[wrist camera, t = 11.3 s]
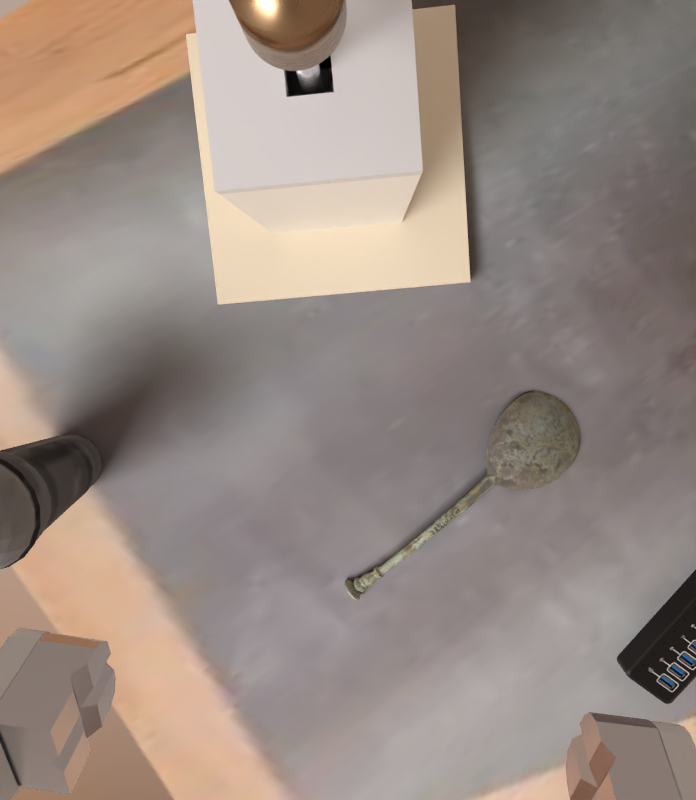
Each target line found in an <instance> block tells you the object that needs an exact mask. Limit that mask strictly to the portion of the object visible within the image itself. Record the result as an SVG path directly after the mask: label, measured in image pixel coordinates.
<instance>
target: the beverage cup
mask: <svg viewBox="0 0 696 800" xmlns="http://www.w3.org/2000/svg"><path fill="white" fill-rule="evenodd" d="M101 469H102V460H101V457H100V454H99V451H98V450H97V449H96V447H95V446H94V444H93V443H91V442H90V441H89V440H88V439H86V438H84V437H81V436H79V435H71V434H68V435H64V436H56V437H52V438H48V439H44V440H40V441H37V442H33V443H29V444H25V445H21V446H17V447H13V448H9V449H5V450H1V451H0V569H2V568H6V567H9V566H11V565H12V564H14V563H16V562H17V561H19V560H20V559H22V558H24V557H25V555H26V554H27V553H28V551H29V550H30V549H31V548H32V546H33V545H34V544H35V542H36V540H37V539H38V538H39V536H40V535H41V534H42V532H43V531H44V530H45V529H46V528H47V527H49V526H50V525H51V524H52V523H53V522H54V521H55V520H56V519H57V518H58V517H59V516H61V515H62V514H63V513H64V512H65V511H66V510H67V509H68V508H69V507H70V506H71V505H73V504H74V503H75V502H76V501H77V500H78V499H79V498H80V497H81V496H82V495H84V494H85V493H86V492H87V490H88V489H89V488H90V487H91V485H93V484H94V483H95V482H96V480H97V479H98V478H99V475H100V472H101Z"/></svg>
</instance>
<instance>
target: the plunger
mask: <svg viewBox="0 0 696 800" xmlns="http://www.w3.org/2000/svg"><path fill="white" fill-rule="evenodd" d="M229 2H230V4H231V6H232V9H233V11H234V13H235V15H236V17H237V20H238V22H239V24H240V26H241V28H242V30H243V33H244V35H245V37H246V39H247V41H248V43H249V45H250V46H251V48H252V49H253V51H254V52H255V53H256V54H257V55H258V56H259V57H260V58H261V59H262V60H264V61H265V62H266V63H268V64H270V65H271V66H274V67H276V68H278V69H282V70H288V71H295V72H286V77H287V87H288V97H291V96H301V95H310V94H320V93H329V92H334V89H333V77H332V68H323V69H320V66H319V64H320V63H321V62H323V61H324V60H325V59H326V58H328V57H329V56H330V55H331V54H332V52H333V51H334V50H335V49H336V47H337V46H338V44H339V42H340V40H341V38H342V36H343V33H344V30H345V25H346V18H347V8H346V0H229Z"/></svg>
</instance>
